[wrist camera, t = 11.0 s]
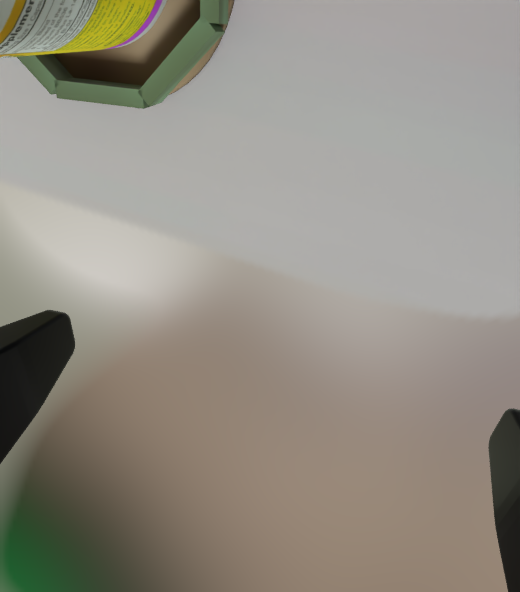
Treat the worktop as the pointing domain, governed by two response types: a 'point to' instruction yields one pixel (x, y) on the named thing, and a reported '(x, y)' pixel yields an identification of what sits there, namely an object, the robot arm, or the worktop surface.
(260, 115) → the worktop surface
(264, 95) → the worktop surface
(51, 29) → the supplement bottle
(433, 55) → the worktop surface
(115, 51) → the coaster ring
